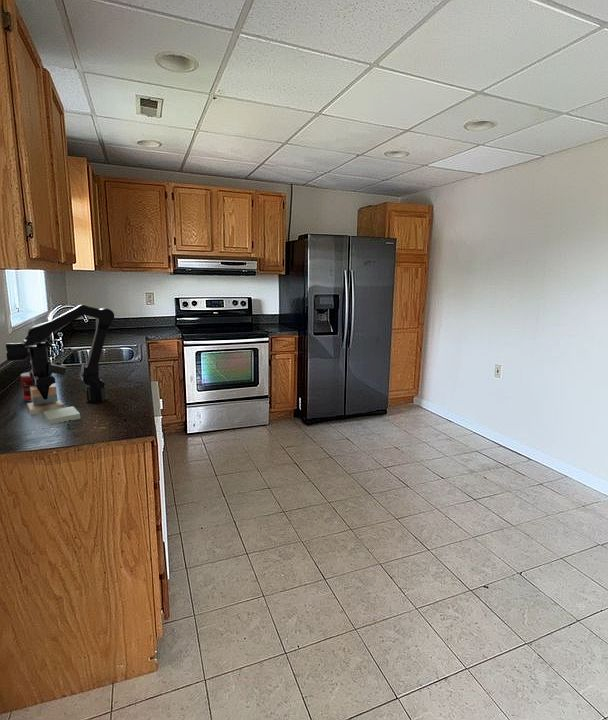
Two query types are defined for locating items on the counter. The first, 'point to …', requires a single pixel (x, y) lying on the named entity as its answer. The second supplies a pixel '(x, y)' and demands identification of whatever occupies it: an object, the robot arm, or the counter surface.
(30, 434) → the counter surface
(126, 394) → the counter surface
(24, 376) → the canned food
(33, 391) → the housing cover
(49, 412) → the stand
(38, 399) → the housing base
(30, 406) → the stand
